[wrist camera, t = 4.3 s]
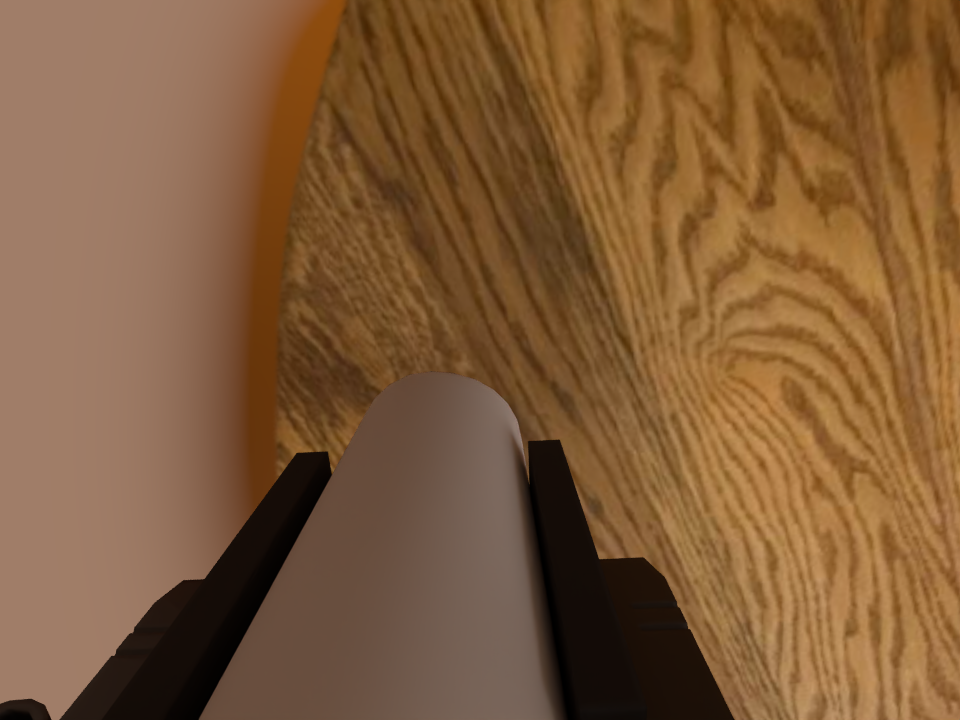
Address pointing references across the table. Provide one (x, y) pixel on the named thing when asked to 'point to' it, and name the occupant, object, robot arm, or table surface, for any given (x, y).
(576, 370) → the table surface
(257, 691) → the beverage can
